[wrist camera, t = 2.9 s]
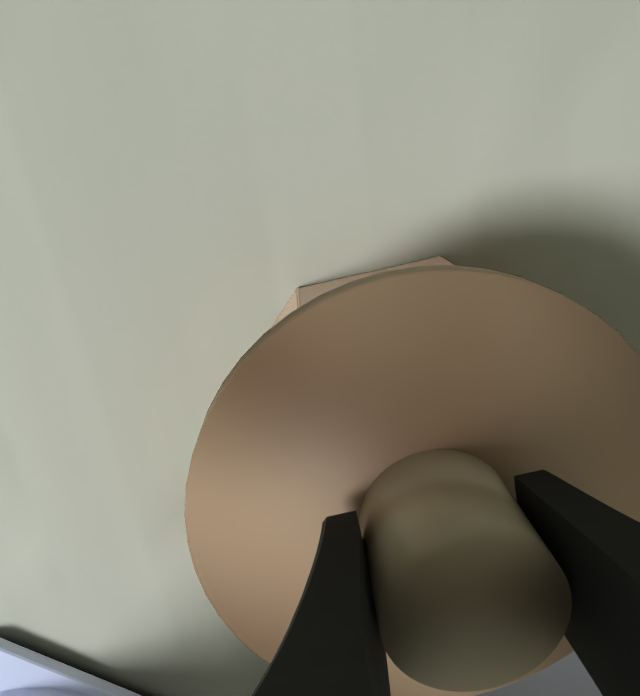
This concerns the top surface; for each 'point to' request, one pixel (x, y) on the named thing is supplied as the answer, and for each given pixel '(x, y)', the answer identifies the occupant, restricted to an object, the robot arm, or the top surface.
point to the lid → (415, 465)
